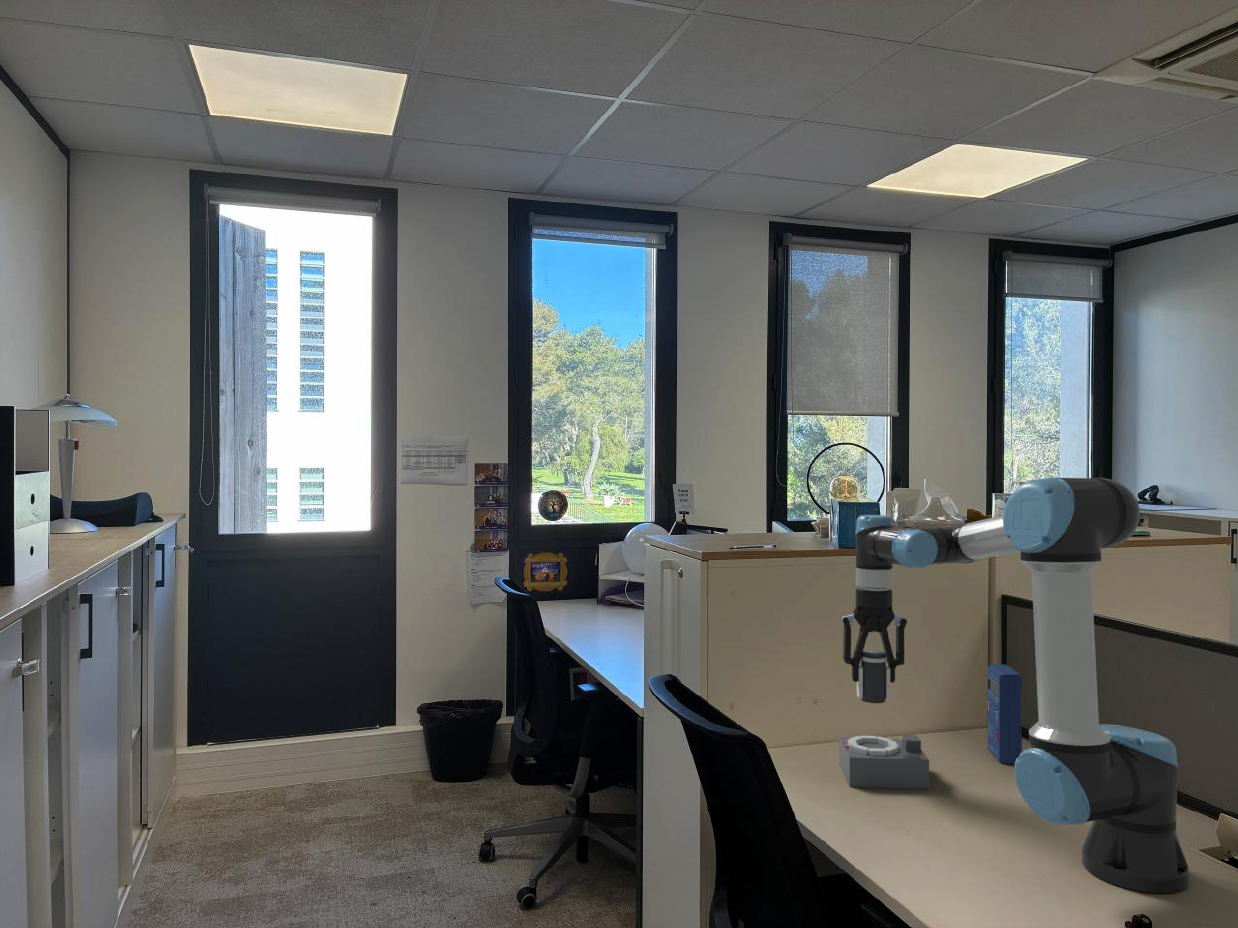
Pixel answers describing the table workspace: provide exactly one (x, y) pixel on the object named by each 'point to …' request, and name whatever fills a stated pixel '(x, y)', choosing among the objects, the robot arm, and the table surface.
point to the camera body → (884, 762)
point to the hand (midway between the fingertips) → (873, 696)
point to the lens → (874, 676)
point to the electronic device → (1004, 713)
